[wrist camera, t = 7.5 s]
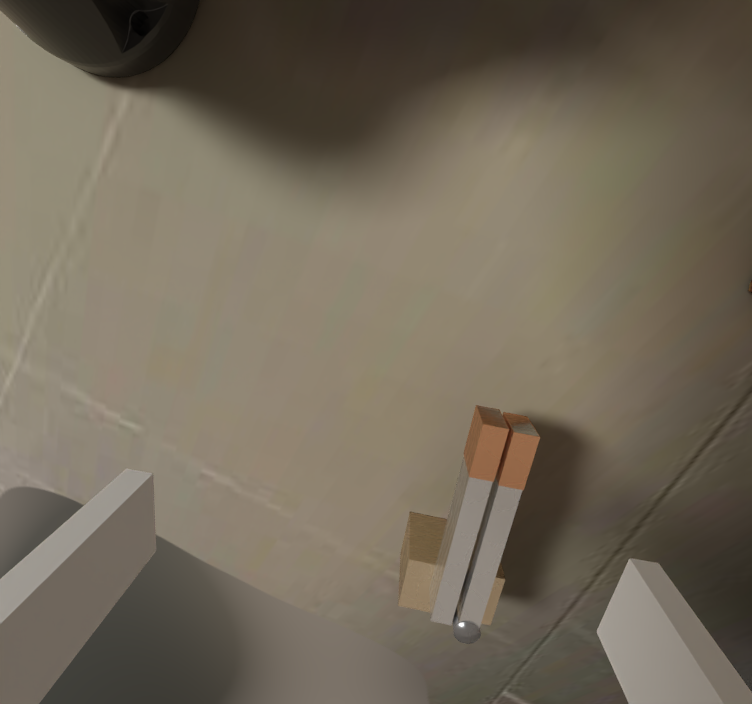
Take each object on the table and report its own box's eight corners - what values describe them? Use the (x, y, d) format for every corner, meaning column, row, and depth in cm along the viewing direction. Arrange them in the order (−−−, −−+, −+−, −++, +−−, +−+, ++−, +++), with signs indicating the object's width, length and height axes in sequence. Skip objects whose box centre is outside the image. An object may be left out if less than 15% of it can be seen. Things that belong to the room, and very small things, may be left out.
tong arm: (501, 411, 29) (511, 432, 26) (529, 416, 29) (542, 438, 26) (448, 604, 34) (451, 640, 31) (471, 609, 34) (477, 646, 31)
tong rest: (441, 372, 35) (450, 417, 26) (533, 390, 35) (573, 441, 26) (400, 553, 40) (396, 639, 32) (479, 569, 40) (497, 661, 31)
